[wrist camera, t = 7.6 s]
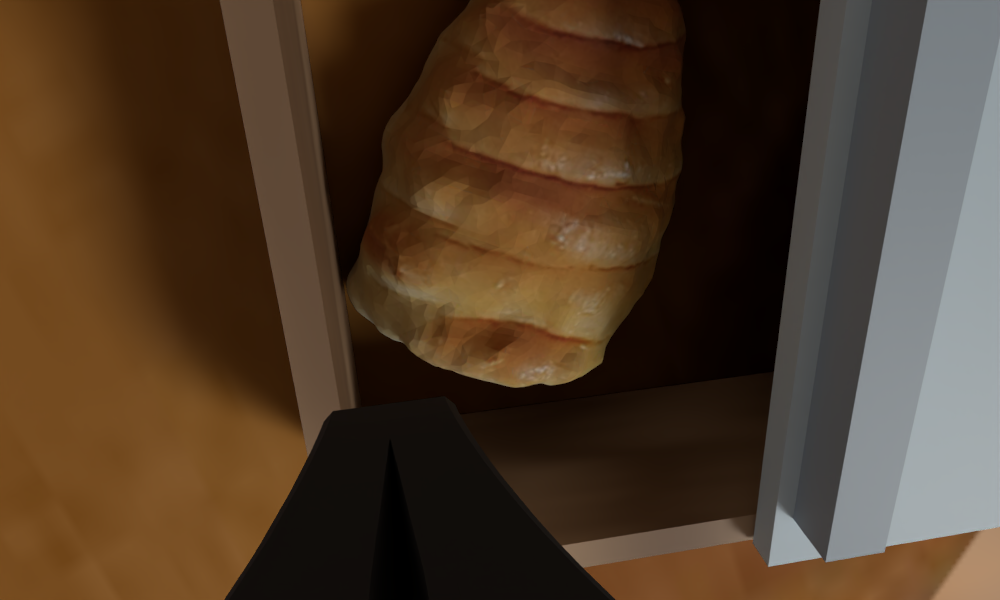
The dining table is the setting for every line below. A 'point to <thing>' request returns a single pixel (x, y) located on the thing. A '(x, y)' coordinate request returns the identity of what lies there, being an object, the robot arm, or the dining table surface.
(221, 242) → the dining table surface
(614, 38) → the pastry
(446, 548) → the robot arm
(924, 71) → the lid
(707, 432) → the walnut box
